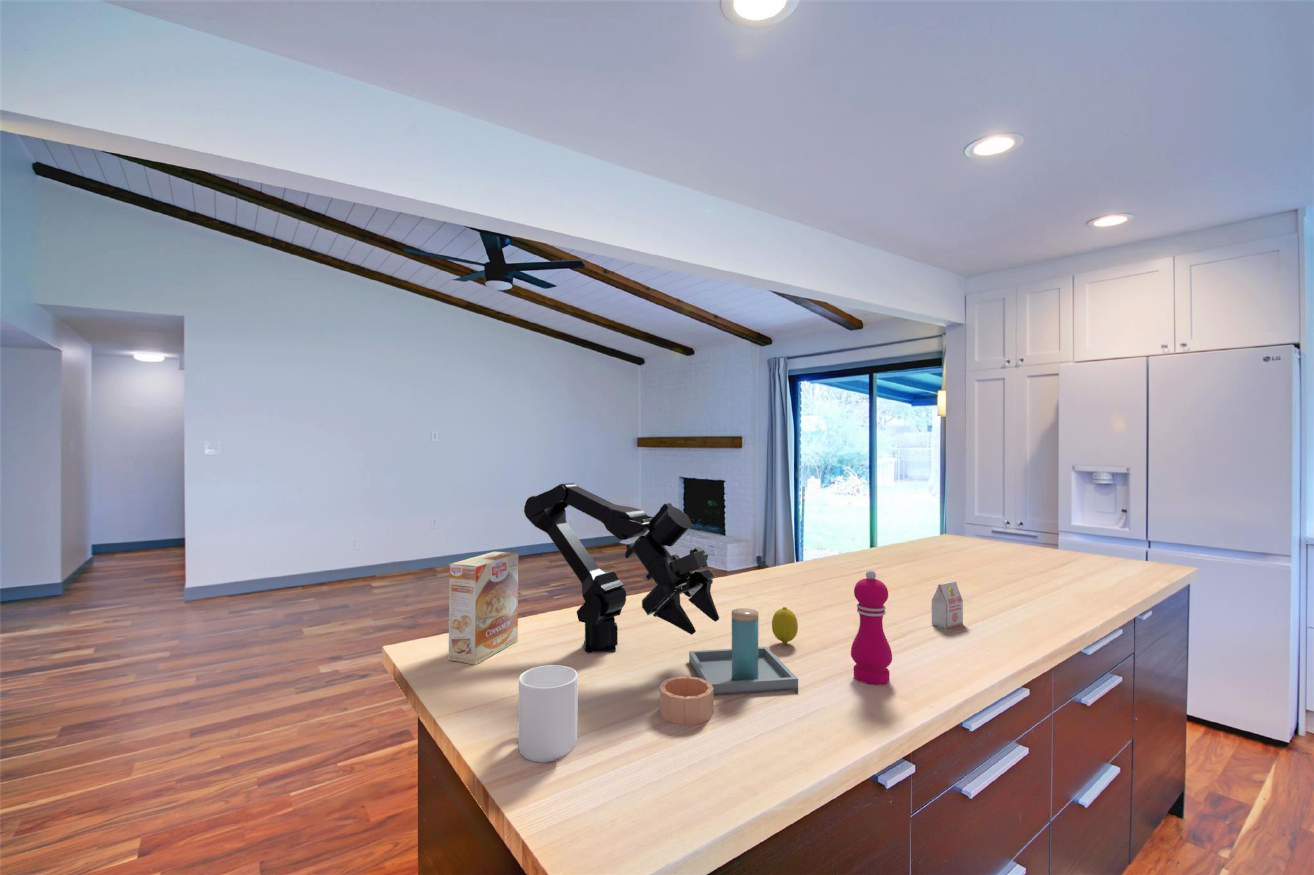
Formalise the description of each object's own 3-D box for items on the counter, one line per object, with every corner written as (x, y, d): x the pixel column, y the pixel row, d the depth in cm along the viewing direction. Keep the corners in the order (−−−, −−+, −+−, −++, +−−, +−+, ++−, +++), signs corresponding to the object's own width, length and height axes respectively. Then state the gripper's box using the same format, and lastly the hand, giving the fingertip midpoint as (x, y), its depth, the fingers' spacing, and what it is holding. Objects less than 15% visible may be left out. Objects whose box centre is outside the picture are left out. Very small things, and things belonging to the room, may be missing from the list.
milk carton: (931, 624, 138) (931, 583, 138) (948, 620, 142) (948, 579, 142) (946, 628, 135) (945, 586, 135) (962, 624, 139) (962, 582, 139)
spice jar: (745, 686, 100) (745, 617, 100) (726, 677, 104) (726, 611, 104) (764, 679, 103) (764, 612, 103) (745, 671, 107) (745, 606, 107)
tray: (709, 699, 97) (709, 684, 97) (689, 663, 113) (689, 651, 113) (798, 693, 100) (798, 678, 100) (766, 659, 116) (766, 646, 116)
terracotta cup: (664, 730, 87) (664, 700, 87) (656, 705, 95) (656, 678, 95) (718, 725, 88) (718, 696, 88) (705, 701, 97) (705, 674, 97)
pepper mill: (891, 673, 109) (890, 567, 109) (893, 688, 102) (893, 575, 102) (851, 668, 111) (850, 565, 111) (850, 683, 104) (850, 572, 104)
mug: (498, 735, 85) (499, 665, 86) (549, 718, 90) (549, 653, 91) (534, 771, 76) (534, 693, 76) (588, 751, 81) (588, 677, 81)
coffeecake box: (476, 665, 112) (476, 566, 113) (446, 660, 115) (447, 563, 115) (519, 640, 126) (519, 552, 127) (492, 637, 129) (492, 550, 129)
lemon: (798, 649, 121) (798, 611, 122) (771, 647, 123) (771, 609, 123) (797, 640, 127) (797, 604, 127) (771, 638, 128) (771, 602, 128)
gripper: (655, 542, 104) (709, 613, 97) (705, 529, 119) (754, 590, 113) (620, 579, 108) (670, 650, 102) (673, 562, 123) (718, 623, 117)
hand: (706, 626), depth 108 cm, fingers open, 9 cm apart
